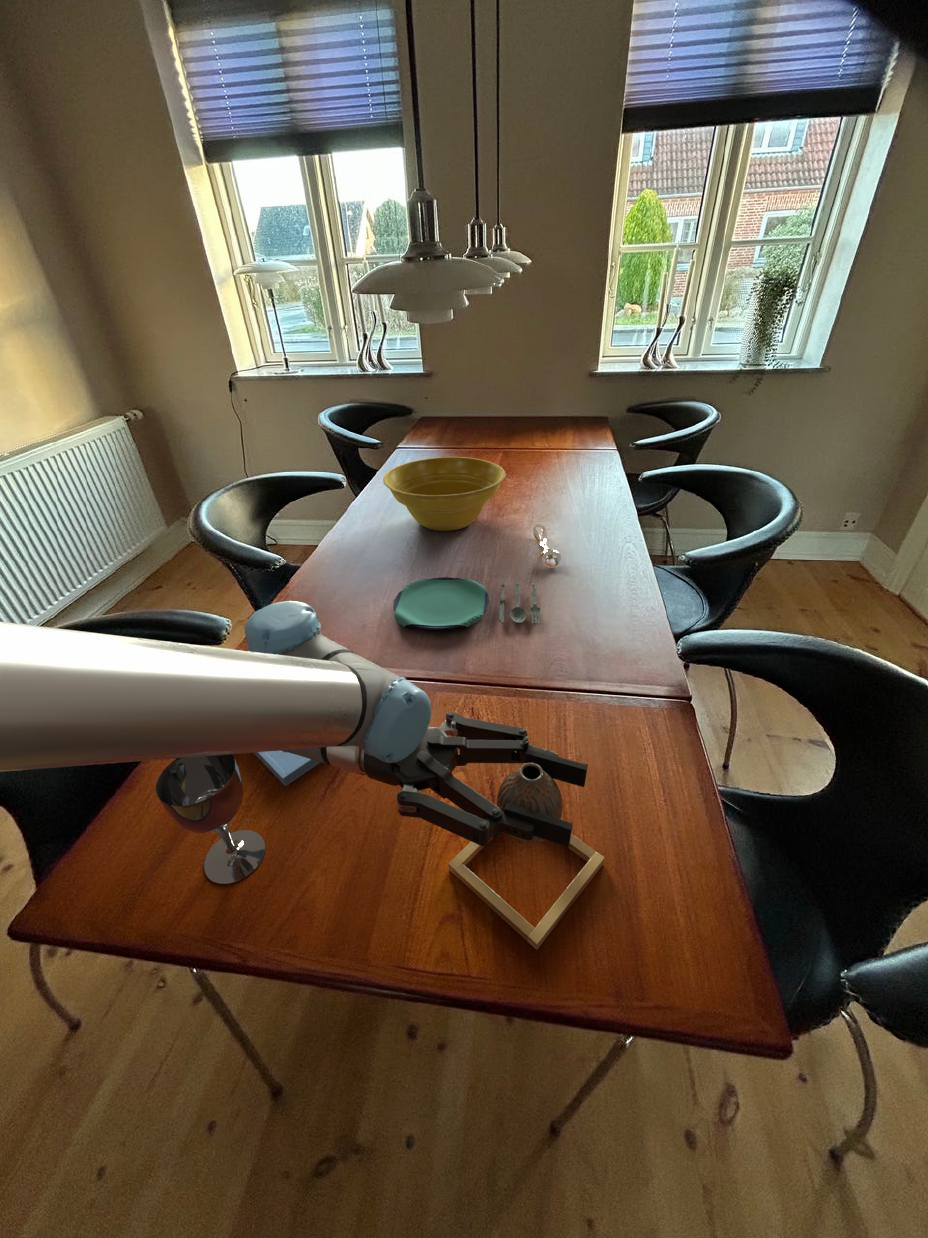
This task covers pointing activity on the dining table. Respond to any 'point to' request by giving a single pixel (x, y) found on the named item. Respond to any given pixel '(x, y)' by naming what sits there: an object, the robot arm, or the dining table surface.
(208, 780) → the wine glass
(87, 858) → the dining table surface
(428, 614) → the cutlery set
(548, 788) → the vase
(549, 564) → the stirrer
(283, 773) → the blue tray
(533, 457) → the dining table surface
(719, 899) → the dining table surface
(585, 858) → the oak frame
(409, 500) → the planter bowl
